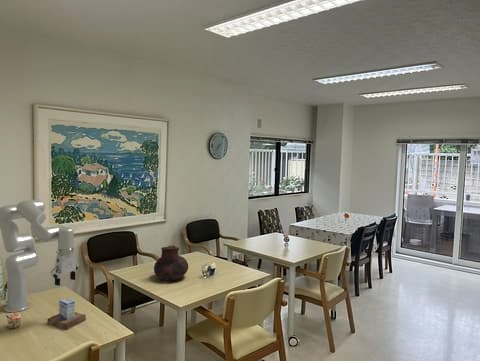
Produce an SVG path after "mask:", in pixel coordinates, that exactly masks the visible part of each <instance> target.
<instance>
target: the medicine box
mask: <svg viewBox="0 0 480 361" xmlns="http://www.w3.org/2000/svg"><path fill="white" fill-rule="evenodd" d="M58 308H59V310H58V311H59V312H58V314H59V316H60V317H62V318H65V319H67V320H68V319H71V318H74V317H75V312H76V301H73V300H72V299H70V298H63V299H60V300H59V301H58Z"/></svg>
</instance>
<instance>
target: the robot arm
mask: <svg viewBox="0 0 480 361" xmlns="http://www.w3.org/2000/svg"><path fill="white" fill-rule="evenodd" d="M45 210H46V205H45V203H44V202H43V201H42V200H40V199H28V200H27V199H26V200H22V201H20V202H19V203H17V204H9V205H4V206H3V205H2V206H1V207H0V232H1V238H2V241H3V242H2V243H3V247H4V250H5V252H7V253H14V254H11V255H10V256H8V257H6V259H5V260H4V267H5V271H6V281H7V282H6V283H7V285H6V291H7V292H6V293H7V299H6V300H4V303H6V305H5V307H4V308H3V309H4V312H7V313H18V312H23V311H25V310H27V309H29V308H30V306H31V303H30V302H28V279H27V274H26V273H25V272H24V271H23V270H25V269H28V268H32V267H34V266H37V265H38V263H39V260H40V258H39V254H38V253H39V252H38V248H37V244H36V240H35V238H34V237H36V239H37V240H39V241H40V242H43V243H48V242H53V241H57V251H56V258H55V263H54V264H55V265H54V268H53V269H52V270H50V274H51V276H52V277H53V278H54V285H55V286H58V287H60V286H61V278H60V277H61V275H65V274H67V273H69V276H70V278H69V279H70V280H72V281H75V280H76V273H77V272H78V271H77V270H78V269H79V266H80V262H77V257H76V252H75V251H74V247H75V246H74V243H75V242H74V241H75V240H74V237H75V236H74V233H75V232H74V228H73V227H70V226H69V227H67V226H64V225H62V224H61V225H53V226H49V227H45V226H43V225H42V224H43V223H44V222H45V220H46V218H47V215H46V212H44V211H45ZM19 219H20V220H21V219H24V220H26V221H27V222H29V223H30V230H31V233H32V234H31V233H29V232H28V233H27V232H23V233H20V231H19V226H18V225H17V224H16V223H15V222H14V221H13V220H19ZM20 251H23V252H20ZM15 252H19V253H15Z"/></svg>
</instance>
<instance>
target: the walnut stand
mask: <svg viewBox="0 0 480 361" xmlns="http://www.w3.org/2000/svg"><path fill="white" fill-rule="evenodd" d="M86 316H87V315H86V314H84V313H80V312H76V311H75V317H74V318H71V319H68V320H67V319H65V318H62V317H60V316H59V313H58V314H55V315H53V316H51V317H49V318H47V325H49V326H53V327H56V328H60V329H64V330H70V329H72V328H73V327H75V326H77V325H80V324H81V323H83V322H85V321H86V320H87V319H86Z"/></svg>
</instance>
